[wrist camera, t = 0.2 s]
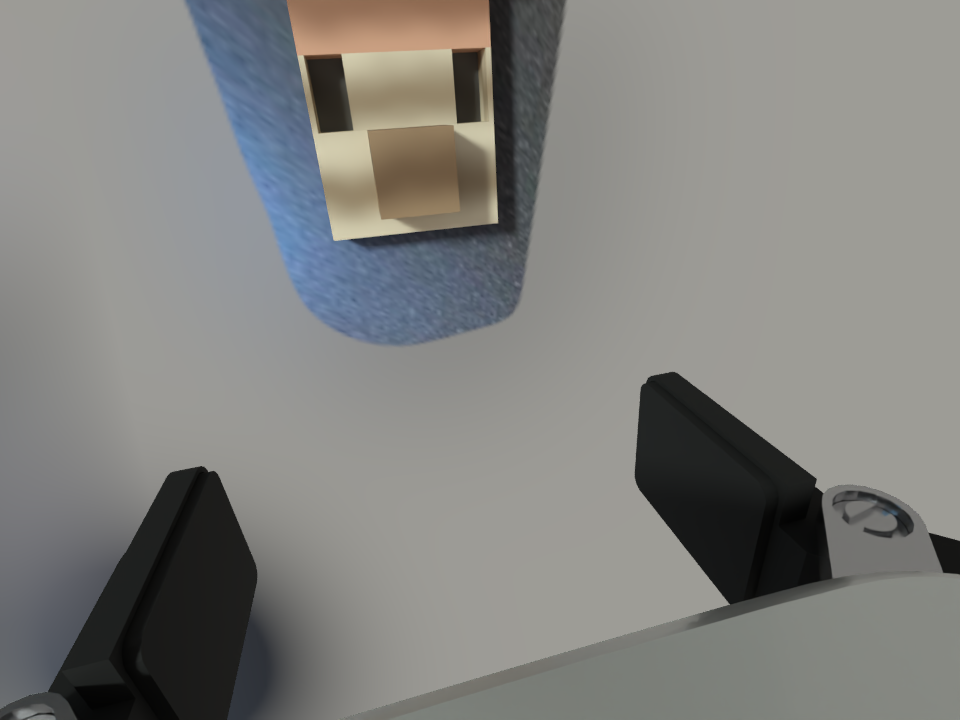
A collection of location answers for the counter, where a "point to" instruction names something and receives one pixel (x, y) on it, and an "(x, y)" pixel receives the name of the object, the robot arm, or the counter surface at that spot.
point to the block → (415, 170)
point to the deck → (396, 99)
